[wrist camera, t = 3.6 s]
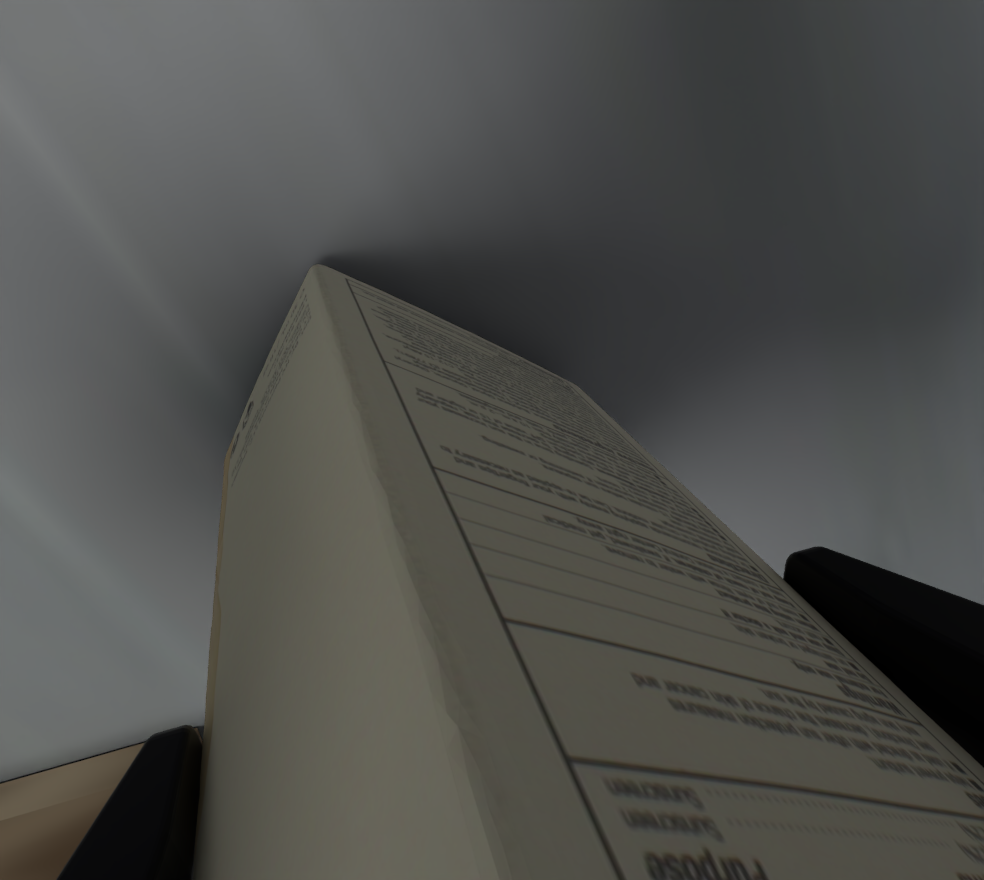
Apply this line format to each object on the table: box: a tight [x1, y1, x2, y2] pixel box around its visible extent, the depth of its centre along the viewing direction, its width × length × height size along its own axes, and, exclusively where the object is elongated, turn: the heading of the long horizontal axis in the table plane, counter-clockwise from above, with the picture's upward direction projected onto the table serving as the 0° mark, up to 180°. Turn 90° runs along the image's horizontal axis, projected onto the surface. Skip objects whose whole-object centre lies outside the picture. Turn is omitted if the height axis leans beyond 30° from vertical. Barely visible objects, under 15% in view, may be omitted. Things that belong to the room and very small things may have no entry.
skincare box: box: [193, 264, 984, 880], centre depth 9 cm, size 6×4×12 cm
